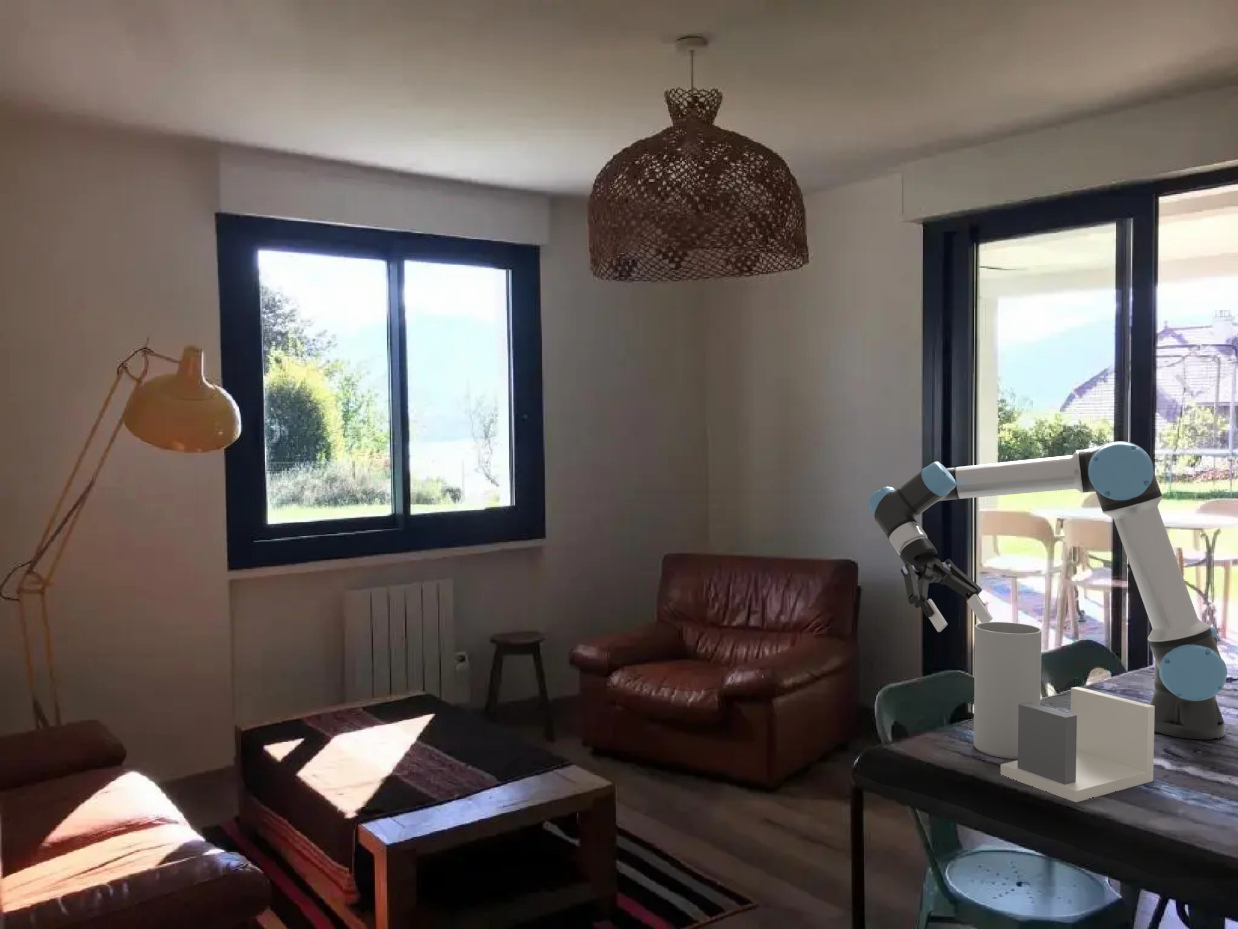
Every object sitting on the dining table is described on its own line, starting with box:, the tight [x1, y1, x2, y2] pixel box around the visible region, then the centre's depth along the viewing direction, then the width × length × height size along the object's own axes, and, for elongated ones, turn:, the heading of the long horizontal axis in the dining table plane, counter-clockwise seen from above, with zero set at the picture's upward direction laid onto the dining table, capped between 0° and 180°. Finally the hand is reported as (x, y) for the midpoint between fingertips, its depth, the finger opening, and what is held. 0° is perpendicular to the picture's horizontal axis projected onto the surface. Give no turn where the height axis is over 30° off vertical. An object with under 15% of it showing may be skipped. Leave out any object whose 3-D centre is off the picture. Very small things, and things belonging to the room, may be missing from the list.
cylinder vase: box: [973, 621, 1043, 760], centre depth 201 cm, size 12×12×25 cm
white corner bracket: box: [1000, 686, 1155, 803], centre depth 186 cm, size 22×16×14 cm
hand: (966, 625), depth 210 cm, fingers open, 13 cm apart
